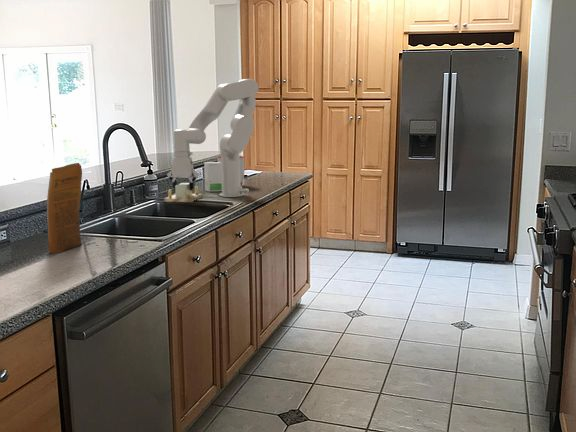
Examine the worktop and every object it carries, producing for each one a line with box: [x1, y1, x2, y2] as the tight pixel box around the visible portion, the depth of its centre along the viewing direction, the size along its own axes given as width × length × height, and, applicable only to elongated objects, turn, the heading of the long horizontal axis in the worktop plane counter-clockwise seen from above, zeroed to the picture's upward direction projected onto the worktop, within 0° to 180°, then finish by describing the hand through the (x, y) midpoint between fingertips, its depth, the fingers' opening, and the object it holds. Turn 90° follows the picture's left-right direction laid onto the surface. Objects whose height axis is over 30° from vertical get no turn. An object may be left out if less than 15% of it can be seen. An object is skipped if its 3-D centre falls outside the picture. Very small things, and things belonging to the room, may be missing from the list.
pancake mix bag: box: [46, 162, 83, 254], centre depth 206 cm, size 7×19×28 cm, turn 162°
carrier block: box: [174, 182, 193, 198], centre depth 310 cm, size 5×10×6 cm, turn 170°
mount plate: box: [163, 185, 203, 203], centre depth 310 cm, size 14×17×6 cm
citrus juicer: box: [216, 155, 245, 186], centre depth 355 cm, size 16×17×20 cm
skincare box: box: [203, 161, 222, 193], centre depth 337 cm, size 8×7×16 cm
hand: (183, 189), depth 310 cm, fingers open, 7 cm apart
